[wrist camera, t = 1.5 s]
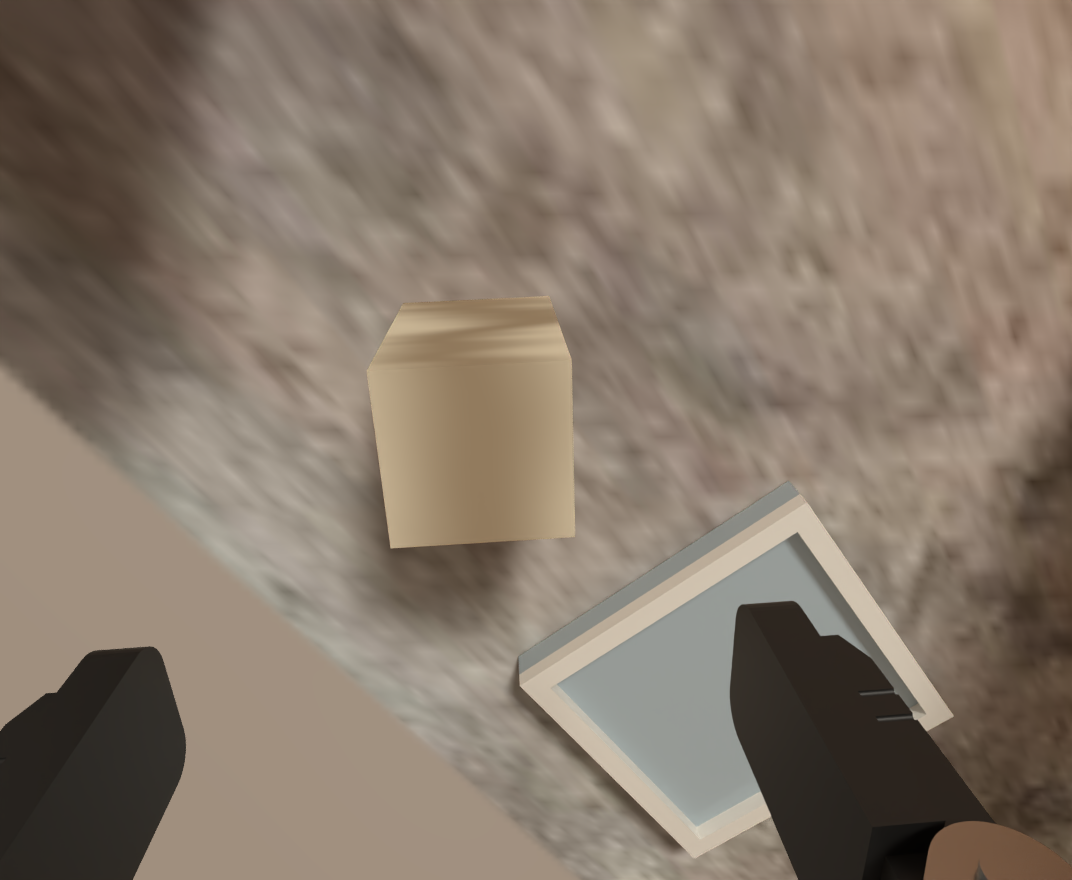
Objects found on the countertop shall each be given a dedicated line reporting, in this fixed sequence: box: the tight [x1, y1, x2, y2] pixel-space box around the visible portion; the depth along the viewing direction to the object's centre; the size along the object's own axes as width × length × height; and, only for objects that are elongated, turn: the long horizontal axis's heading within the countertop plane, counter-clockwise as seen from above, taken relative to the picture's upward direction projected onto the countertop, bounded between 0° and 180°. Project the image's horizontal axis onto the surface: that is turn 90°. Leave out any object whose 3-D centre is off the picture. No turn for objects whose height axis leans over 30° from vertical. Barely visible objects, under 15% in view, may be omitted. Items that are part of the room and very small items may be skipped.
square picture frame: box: [518, 481, 954, 858], centre depth 28 cm, size 12×12×2 cm
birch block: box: [367, 296, 575, 548], centre depth 20 cm, size 4×4×7 cm
